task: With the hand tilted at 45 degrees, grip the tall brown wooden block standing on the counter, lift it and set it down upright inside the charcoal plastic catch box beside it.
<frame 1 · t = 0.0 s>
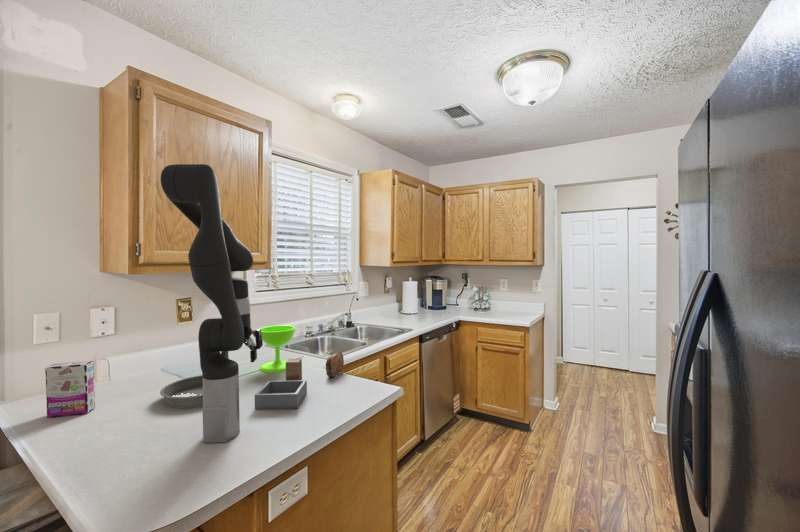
hand: (239, 361, 116), 17 cm above the worktop, tool pointing down, fingers open, 8 cm apart
catch box: (282, 401, 128), on the worktop
brown wooden block: (294, 385, 144), on the worktop
candy bar box: (71, 413, 120), on the worktop
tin: (335, 374, 158), on the worktop
cake pan: (200, 397, 134), on the worktop
wineglass: (277, 367, 168), on the worktop
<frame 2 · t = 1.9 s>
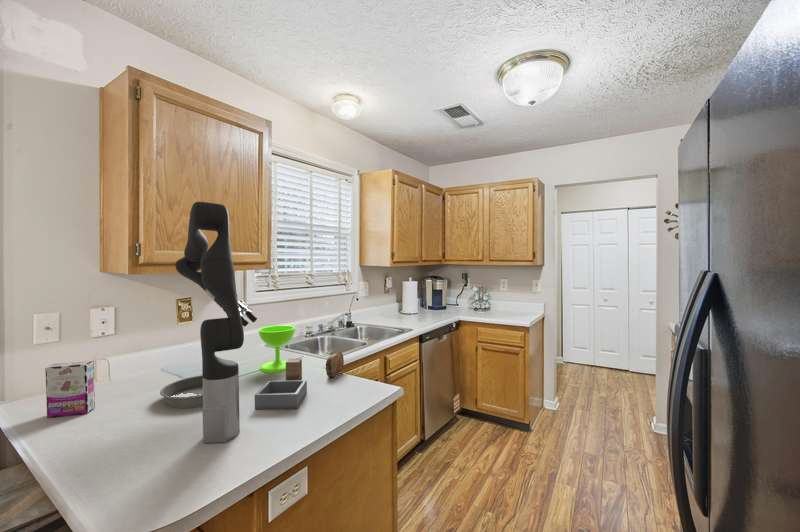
hand: (251, 322, 143), 25 cm above the worktop, tool tilted 45°, fingers open, 8 cm apart
nothing on the worktop moved.
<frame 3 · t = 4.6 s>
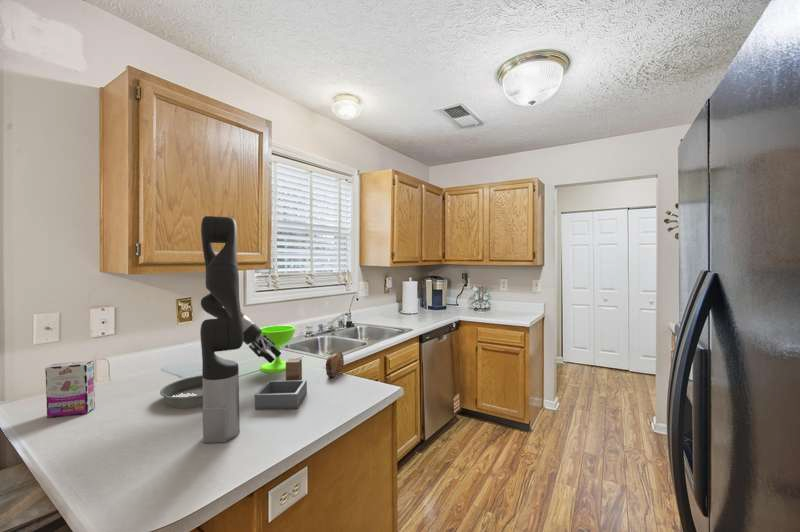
hand: (276, 358, 143), 11 cm above the worktop, tool tilted 45°, fingers open, 8 cm apart
nothing on the worktop moved.
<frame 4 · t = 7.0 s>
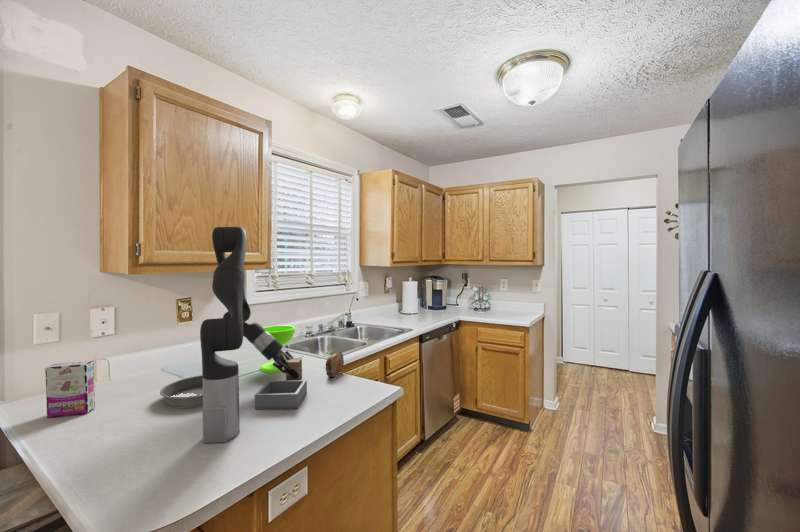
hand: (298, 374, 144), 4 cm above the worktop, tool tilted 45°, fingers closed on brown wooden block, 5 cm apart
brown wooden block: (294, 385, 144), on the worktop, touching gripper
everything else where it was.
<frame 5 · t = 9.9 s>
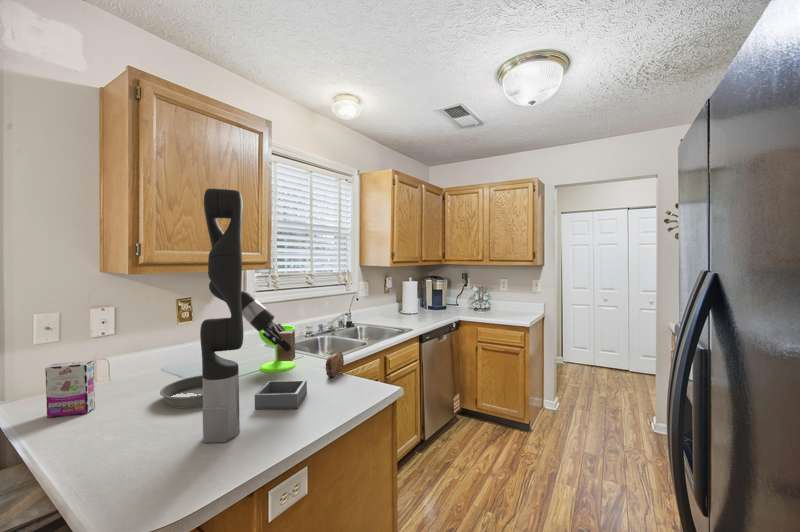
hand: (291, 347, 132), 18 cm above the worktop, tool tilted 45°, fingers closed on brown wooden block, 5 cm apart
brown wooden block: (286, 359, 132), point 13 cm above the worktop, touching gripper
everything else where it was.
when the fingers open (7 cm above the worktop, at t = 13.0 s): brown wooden block drops 1 cm, resting on catch box.
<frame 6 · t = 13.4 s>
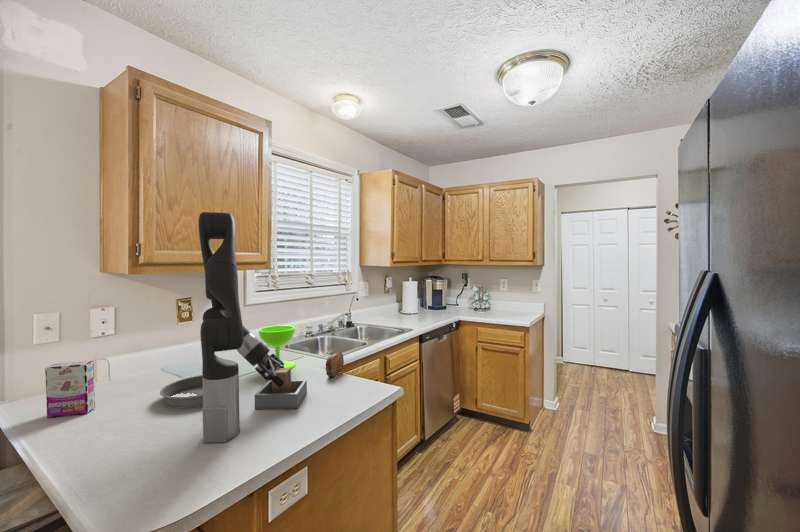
hand: (285, 380, 128), 7 cm above the worktop, tool tilted 45°, fingers open, 8 cm apart
brown wooden block: (281, 398, 128), point 1 cm above the worktop, touching catch box
everything else where it was.
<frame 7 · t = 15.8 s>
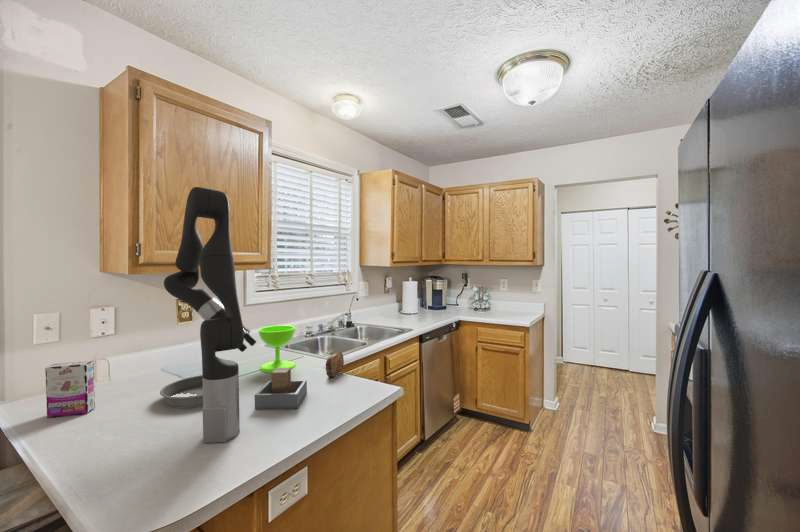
hand: (249, 346, 127), 19 cm above the worktop, tool tilted 45°, fingers open, 8 cm apart
nothing on the worktop moved.
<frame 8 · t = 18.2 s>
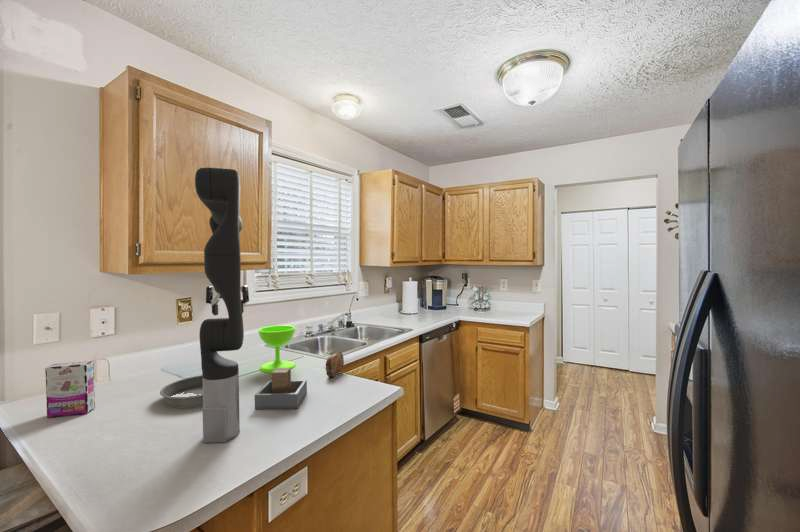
hand: (227, 315, 131), 30 cm above the worktop, tool pointing down, fingers open, 8 cm apart
nothing on the worktop moved.
at the end: brown wooden block inside the target area on the catch box (0.1 cm from its centre), point 1.0 cm above the catch box's base; brown wooden block tilted 0°; the gripper is holding nothing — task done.
